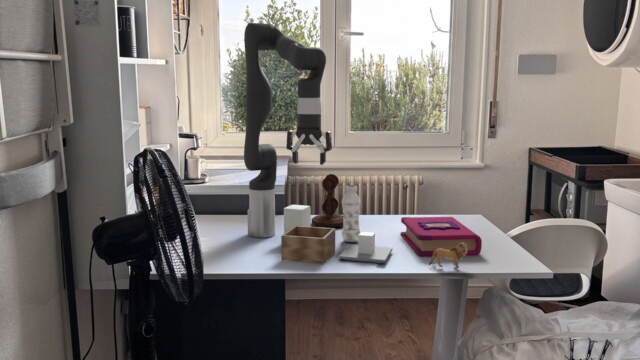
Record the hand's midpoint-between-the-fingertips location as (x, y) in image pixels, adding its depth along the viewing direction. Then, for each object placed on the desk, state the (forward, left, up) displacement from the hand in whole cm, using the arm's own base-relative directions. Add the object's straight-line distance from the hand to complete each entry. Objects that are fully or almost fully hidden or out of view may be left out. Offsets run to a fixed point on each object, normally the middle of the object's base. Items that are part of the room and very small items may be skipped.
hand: (309, 163), depth 193 cm
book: (+39, +27, -31) cm, 57 cm away
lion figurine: (+44, +2, -30) cm, 54 cm away
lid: (+18, +5, -30) cm, 35 cm away
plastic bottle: (+9, +21, -30) cm, 38 cm away
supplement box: (-9, +16, -30) cm, 35 cm away
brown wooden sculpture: (-4, +43, -30) cm, 53 cm away
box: (0, 0, -30) cm, 30 cm away
